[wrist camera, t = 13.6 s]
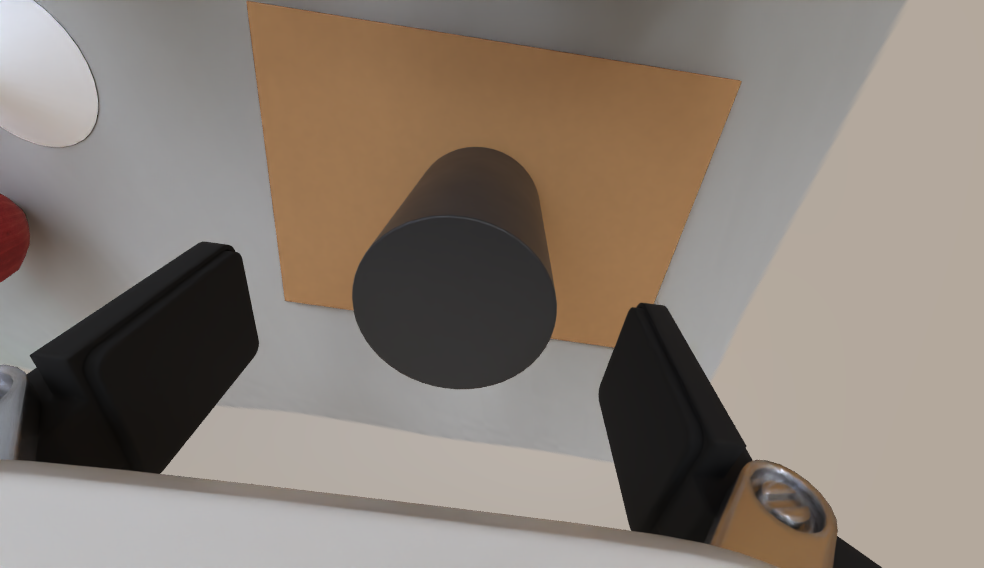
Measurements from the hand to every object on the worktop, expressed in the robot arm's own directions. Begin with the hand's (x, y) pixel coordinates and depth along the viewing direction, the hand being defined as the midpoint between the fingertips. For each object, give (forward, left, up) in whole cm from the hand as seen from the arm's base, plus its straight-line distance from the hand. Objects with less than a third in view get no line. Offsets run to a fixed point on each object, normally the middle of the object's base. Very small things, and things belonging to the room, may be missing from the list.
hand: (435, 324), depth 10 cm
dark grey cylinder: (0, -1, -11) cm, 11 cm away
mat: (0, -1, -11) cm, 11 cm away
